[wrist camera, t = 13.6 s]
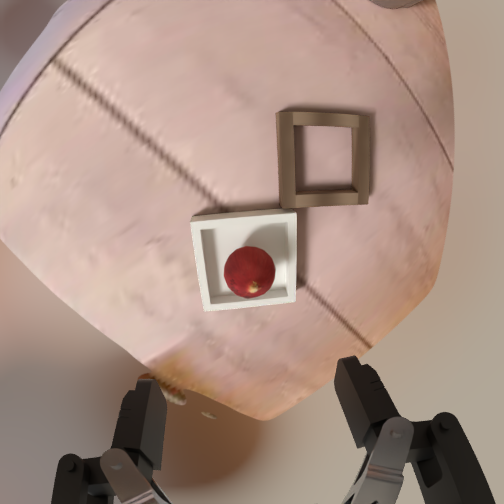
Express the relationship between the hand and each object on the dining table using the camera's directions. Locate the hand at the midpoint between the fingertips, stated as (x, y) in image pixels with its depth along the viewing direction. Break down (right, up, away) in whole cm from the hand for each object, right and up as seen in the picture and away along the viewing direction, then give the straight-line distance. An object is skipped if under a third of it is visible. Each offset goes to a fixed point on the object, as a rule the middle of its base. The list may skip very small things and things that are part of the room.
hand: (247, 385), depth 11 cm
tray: (-1, +5, +24) cm, 25 cm away
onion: (-1, +5, +24) cm, 25 cm away
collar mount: (+9, +17, +20) cm, 28 cm away
